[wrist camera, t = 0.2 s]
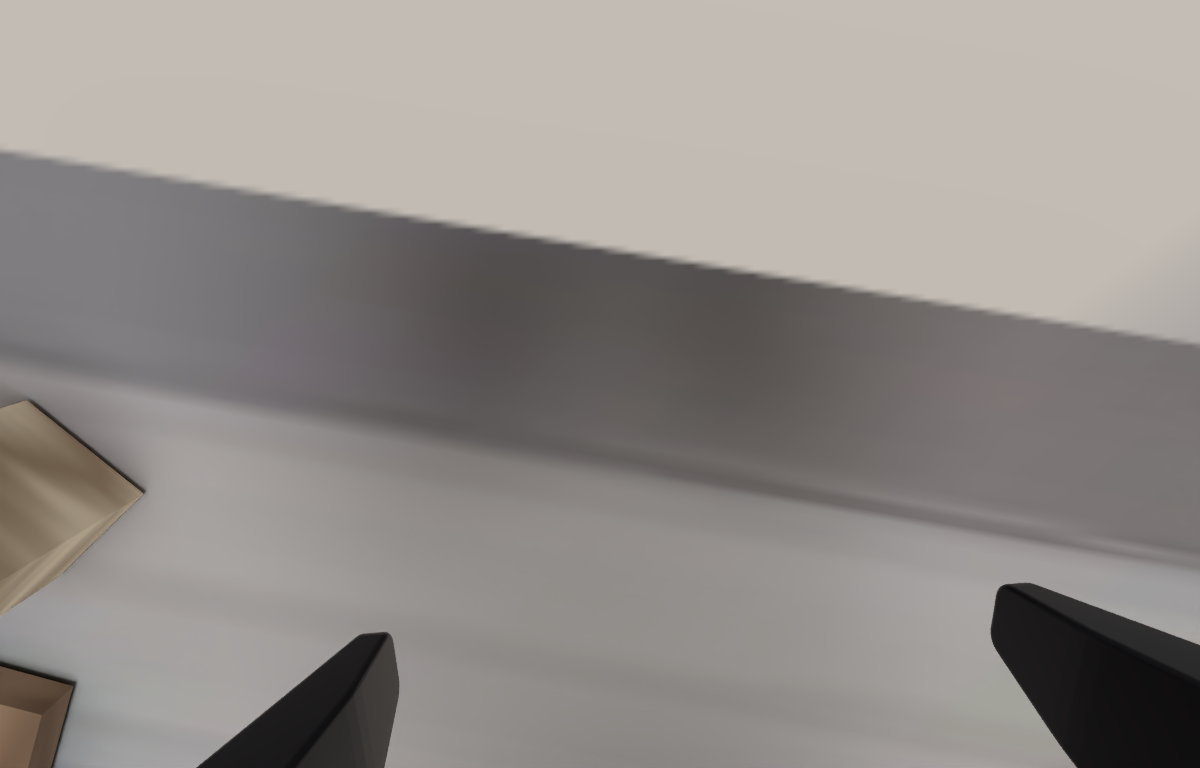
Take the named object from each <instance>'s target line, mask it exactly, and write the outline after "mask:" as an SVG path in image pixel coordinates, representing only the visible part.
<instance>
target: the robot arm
mask: <svg viewBox="0 0 1200 768" xmlns="http://www.w3.org/2000/svg"><path fill="white" fill-rule="evenodd" d="M991 638H992V642H993V645H994V647H995V649H996V651H997V652H998V654H999V655H1000V657H1001V658H1002V660H1003V661H1004V663H1005V664H1006V666H1007V667H1008V669H1009V670H1010V672H1011V673H1012V675H1013V676H1014V678H1015V679H1016V681H1017V682H1018V684H1019V685H1020V687H1021V688H1022V690H1023V691H1024V693H1025V694H1026V696H1027V697H1028V699H1029V700H1030V702H1031V703H1032V705H1033V706H1034V708H1035V709H1036V711H1037V712H1038V714H1039V715H1040V717H1041V718H1042V720H1043V721H1044V723H1045V724H1046V726H1047V727H1048V729H1049V730H1050V732H1051V733H1052V734H1053V736H1054V737H1055V739H1056V740H1057V742H1058V743H1059V744H1060V746H1061V747H1062V749H1063V750H1064V751H1065V753H1066V754H1067V755H1068V757H1069V758H1070V759H1071V761H1072V762H1073V763H1074V765H1075V766H1076V767H1077V768H1200V645H1198V644H1195V643H1193V642H1190V641H1187V640H1184V639H1182V638H1179V637H1176V636H1174V635H1171V634H1168V633H1165V632H1163V631H1160V630H1157V629H1155V628H1152V627H1149V626H1146V625H1144V624H1141V623H1138V622H1136V621H1133V620H1130V619H1127V618H1125V617H1122V616H1119V615H1116V614H1114V613H1111V612H1108V611H1106V610H1103V609H1100V608H1097V607H1095V606H1092V605H1089V604H1087V603H1084V602H1081V601H1078V600H1076V599H1073V598H1070V597H1068V596H1065V595H1062V594H1059V593H1057V592H1054V591H1051V590H1049V589H1046V588H1043V587H1040V586H1038V585H1035V584H1032V583H1017V584H1005V585H1003V586H1001V587H1000V588H999V589H998V591H997V594H996V599H995V606H994V612H993V618H992V624H991ZM398 697H399V676H398V670H397V663H396V657H395V650H394V643H393V639H392V637H391V635H390V634H389V633H387V632H379V633H366V634H361V635H359V636H357V637H356V638H355V639H353V640H352V641H351V642H350V643H349V644H347V645H346V646H345V647H344V648H342V649H341V650H340V651H339V652H337V653H336V654H335V655H334V656H333V657H331V658H330V659H329V660H328V661H326V662H325V663H324V664H323V665H322V666H320V667H319V668H318V669H317V670H315V671H314V672H313V673H312V674H311V675H309V676H308V677H307V678H306V679H304V680H303V681H302V682H301V683H300V684H298V685H297V686H296V687H295V688H293V689H292V690H291V691H290V692H288V693H287V694H286V695H285V696H284V697H282V698H281V699H280V700H279V701H277V702H276V703H275V704H274V705H273V706H271V707H270V708H269V709H268V710H266V711H265V712H264V713H263V714H262V715H260V716H259V717H258V718H257V719H255V720H254V721H253V722H252V723H251V724H249V725H248V726H247V727H246V728H244V729H243V730H242V731H241V732H240V733H238V734H237V735H236V736H235V737H233V738H232V739H231V740H230V741H228V742H227V743H226V744H225V745H224V746H222V747H221V748H220V749H219V750H217V751H216V752H215V753H214V754H213V755H211V756H210V757H209V758H208V759H206V760H205V761H204V762H203V763H202V764H200V765H199V766H198V767H197V768H384V767H385V762H386V757H387V752H388V747H389V742H390V737H391V732H392V727H393V722H394V717H395V712H396V707H397V702H398Z"/></svg>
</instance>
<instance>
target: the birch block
mask: <svg viewBox="0 0 1200 768" xmlns="http://www.w3.org/2000/svg"><path fill="white" fill-rule="evenodd" d="M142 495H143V493H142V492H141V491H139V490H138V489H137V488H136V487H134V486H133V485H132V484H131V483H129V482H128V481H127V480H126V479H124V478H123V477H122V476H121V475H119V474H118V473H117V472H116V471H115V470H113V469H112V468H111V467H110V466H108V465H107V464H106V463H105V462H103V461H102V460H101V459H100V458H98V457H97V456H96V455H95V454H93V453H92V452H91V451H90V450H88V449H87V448H86V447H85V446H83V445H82V444H81V443H80V442H78V441H77V440H76V439H75V438H73V437H72V436H71V435H70V434H68V433H67V432H66V431H65V430H63V429H62V428H61V427H60V426H58V425H57V424H56V423H55V422H53V421H52V420H51V419H50V418H48V417H47V416H46V415H45V414H43V413H42V412H41V411H40V410H38V409H37V408H36V407H35V406H33V405H32V404H31V403H30V402H28V401H27V400H26V401H22V402H19V403H16V404H12V405H9V406H6V407H3V408H0V616H1V615H2V614H4V613H5V612H7V611H8V610H10V609H11V608H13V607H14V606H16V605H17V604H19V603H20V602H22V601H23V600H25V599H26V598H28V597H29V596H31V595H32V594H34V593H35V592H37V591H38V590H39V589H41V588H42V587H44V586H45V585H47V584H48V583H50V582H51V581H53V580H54V579H56V578H57V577H59V576H60V575H61V574H62V573H63V572H64V571H65V570H66V569H67V568H68V567H69V566H70V565H71V564H72V563H73V562H74V561H75V560H76V559H77V558H78V557H79V556H80V555H81V554H82V553H83V552H84V551H85V550H86V549H87V548H88V547H90V546H91V545H92V544H93V543H94V542H95V541H96V540H97V539H98V538H99V537H100V536H101V535H102V534H103V533H104V532H105V531H106V530H107V529H108V528H109V527H110V526H111V525H112V524H113V523H114V522H115V521H116V520H117V519H118V518H119V517H120V516H121V515H122V514H123V513H124V512H125V511H126V510H128V509H129V508H130V507H131V506H132V505H133V504H134V503H135V502H136V501H137V500H138V499H139V498H140V497H141V496H142Z"/></svg>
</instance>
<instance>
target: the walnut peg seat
mask: <svg viewBox="0 0 1200 768" xmlns="http://www.w3.org/2000/svg"><path fill="white" fill-rule="evenodd" d="M72 689H73V686H71V685H67V684H63V683H60V682H56V681H52V680H49V679H45V678H41V677H38V676H34V675H30V674H26V673H23V672H19V671H15V670H12V669H8V668H4V667H1V666H0V768H51V766H52V762H53V759H54V755H55V751H56V748H57V744H58V740H59V737H60V733H61V729H62V726H63V722H64V718H65V715H66V711H67V707H68V704H69V700H70V696H71V693H72Z"/></svg>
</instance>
